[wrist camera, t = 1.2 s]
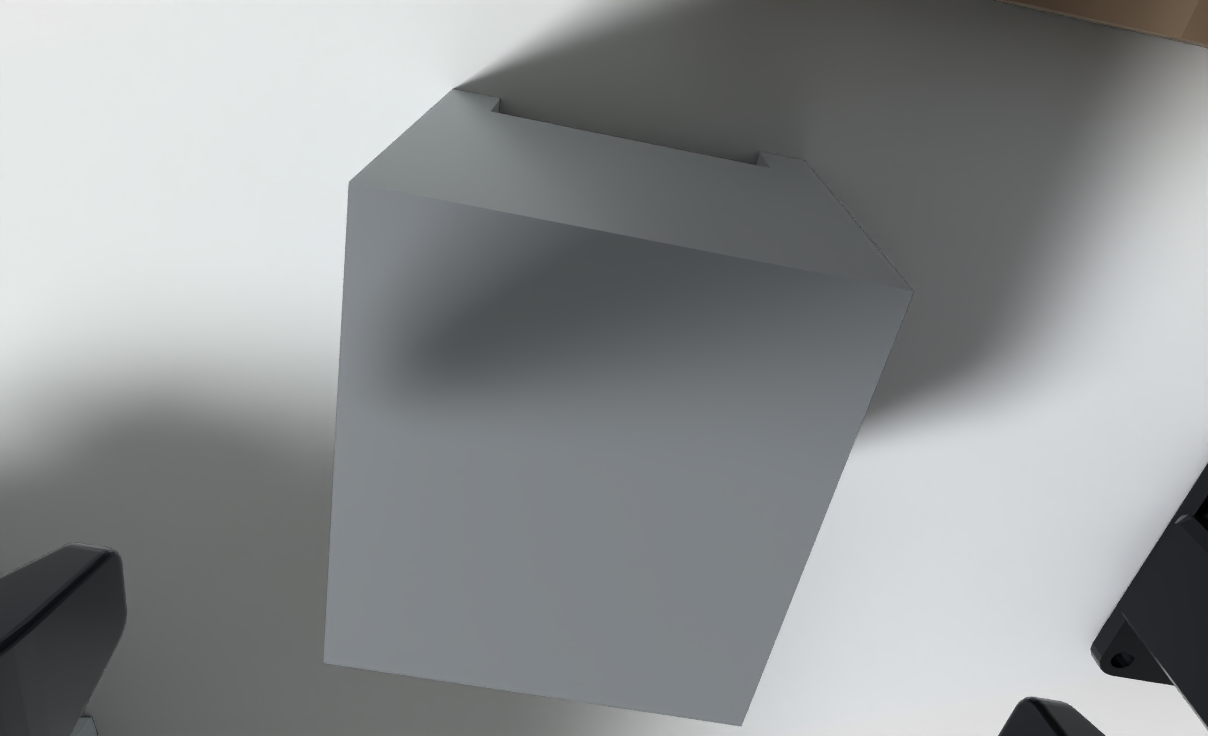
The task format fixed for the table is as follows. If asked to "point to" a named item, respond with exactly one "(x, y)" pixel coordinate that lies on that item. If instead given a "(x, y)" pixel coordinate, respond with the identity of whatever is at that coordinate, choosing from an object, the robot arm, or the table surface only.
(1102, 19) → the rail base
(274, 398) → the table surface
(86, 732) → the circuit breaker
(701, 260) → the block
